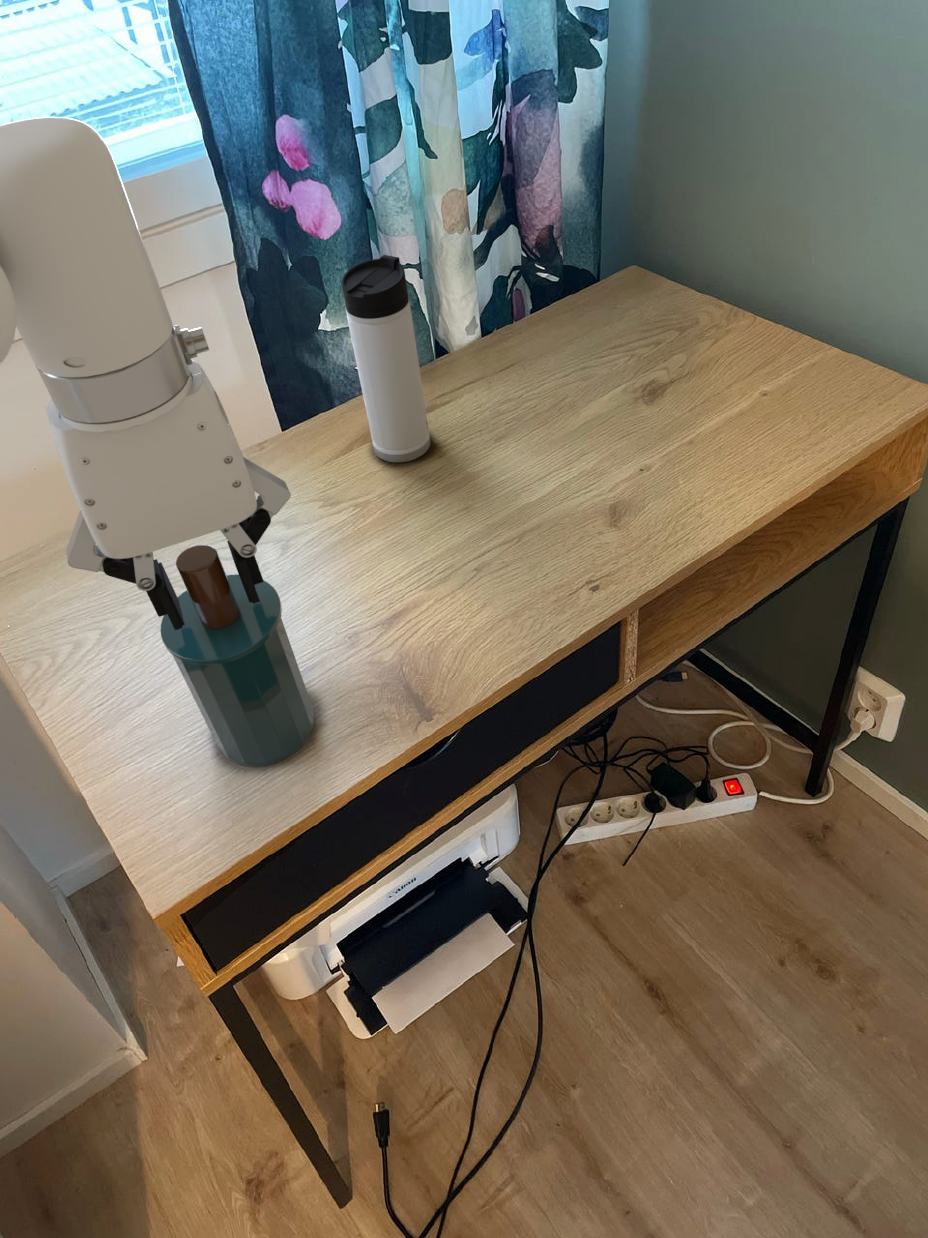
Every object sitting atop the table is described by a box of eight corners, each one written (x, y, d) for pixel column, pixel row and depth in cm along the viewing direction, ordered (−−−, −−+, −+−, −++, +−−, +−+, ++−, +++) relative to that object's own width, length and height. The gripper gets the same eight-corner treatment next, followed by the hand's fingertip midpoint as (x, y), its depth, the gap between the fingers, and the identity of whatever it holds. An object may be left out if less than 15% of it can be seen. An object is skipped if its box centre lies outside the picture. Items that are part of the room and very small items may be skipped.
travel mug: (443, 436, 99) (419, 259, 85) (409, 469, 96) (378, 289, 81) (397, 423, 102) (366, 249, 88) (363, 455, 98) (325, 278, 84)
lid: (175, 687, 61) (140, 620, 56) (157, 607, 67) (124, 540, 62) (296, 645, 63) (273, 576, 58) (268, 570, 68) (245, 502, 64)
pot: (227, 781, 70) (175, 678, 61) (209, 708, 75) (158, 604, 66) (326, 744, 71) (288, 638, 62) (300, 675, 76) (263, 569, 68)
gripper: (250, 304, 54) (315, 534, 67) (-40, 383, 51) (88, 609, 64) (279, 360, 49) (344, 597, 62) (-41, 452, 46) (99, 682, 59)
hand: (213, 601), depth 63 cm, fingers open, 4 cm apart
